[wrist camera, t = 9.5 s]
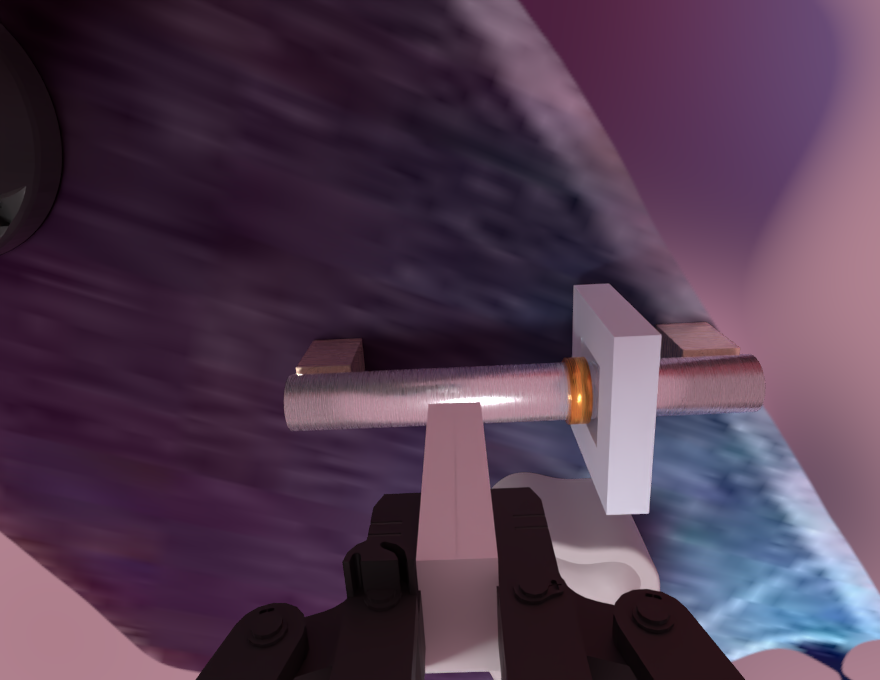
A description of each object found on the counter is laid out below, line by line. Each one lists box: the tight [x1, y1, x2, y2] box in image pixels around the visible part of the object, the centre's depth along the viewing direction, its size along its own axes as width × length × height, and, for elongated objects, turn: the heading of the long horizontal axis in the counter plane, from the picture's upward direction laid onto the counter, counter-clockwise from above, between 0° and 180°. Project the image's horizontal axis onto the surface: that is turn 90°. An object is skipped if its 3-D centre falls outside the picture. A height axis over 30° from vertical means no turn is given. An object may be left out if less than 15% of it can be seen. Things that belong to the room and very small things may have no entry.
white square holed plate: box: [571, 283, 662, 515], centre depth 31 cm, size 2×9×9 cm, turn 3°
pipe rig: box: [284, 322, 765, 431], centre depth 33 cm, size 24×4×8 cm, turn 93°
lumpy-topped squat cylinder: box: [489, 472, 660, 680], centre depth 38 cm, size 10×13×9 cm
